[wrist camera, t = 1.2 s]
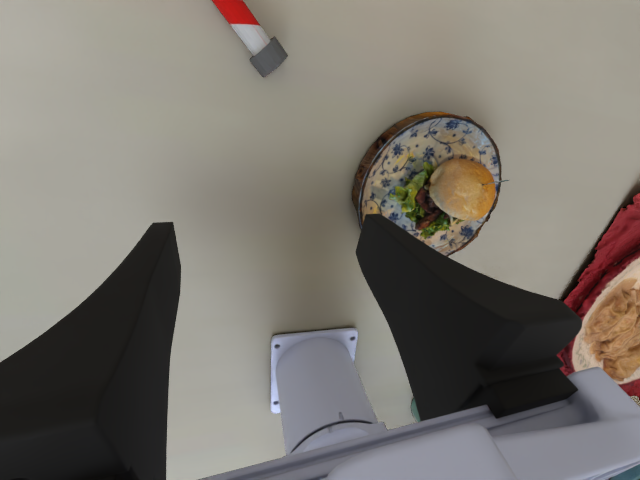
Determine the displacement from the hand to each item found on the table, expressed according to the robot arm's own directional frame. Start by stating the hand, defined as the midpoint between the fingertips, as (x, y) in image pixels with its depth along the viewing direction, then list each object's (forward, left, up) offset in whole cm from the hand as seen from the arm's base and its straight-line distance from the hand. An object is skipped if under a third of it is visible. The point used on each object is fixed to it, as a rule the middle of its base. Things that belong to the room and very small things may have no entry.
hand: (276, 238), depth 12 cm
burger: (-1, -13, -12) cm, 17 cm away
